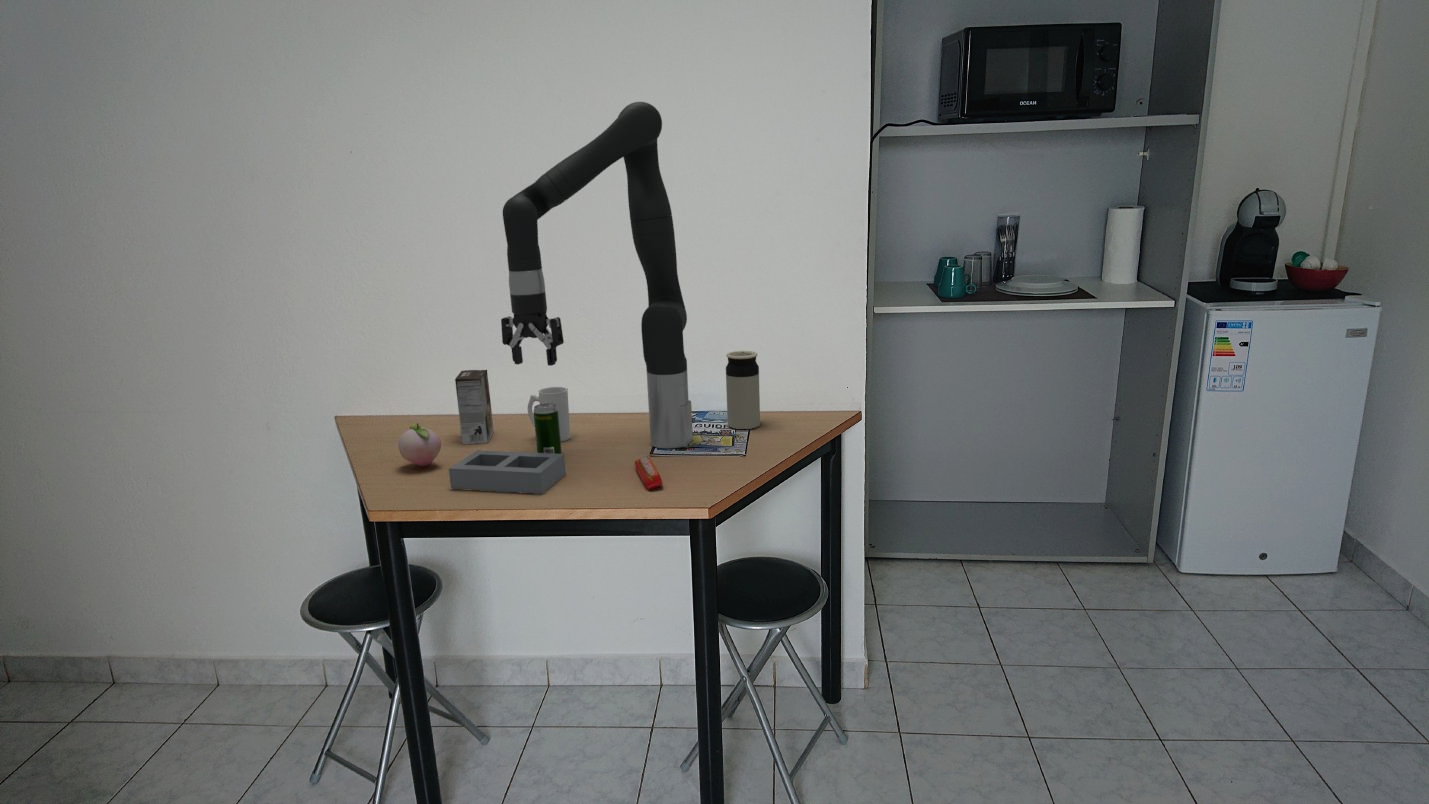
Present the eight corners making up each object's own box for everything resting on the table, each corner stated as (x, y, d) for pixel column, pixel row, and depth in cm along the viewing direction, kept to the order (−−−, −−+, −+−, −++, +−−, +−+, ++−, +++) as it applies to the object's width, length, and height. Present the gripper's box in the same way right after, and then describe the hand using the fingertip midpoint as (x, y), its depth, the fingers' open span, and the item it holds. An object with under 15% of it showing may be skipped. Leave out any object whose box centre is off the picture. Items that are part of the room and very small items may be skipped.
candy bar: (633, 468, 192) (632, 455, 191) (650, 466, 193) (649, 453, 192) (646, 493, 177) (645, 479, 176) (664, 491, 178) (663, 476, 177)
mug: (575, 434, 217) (571, 386, 214) (566, 443, 211) (562, 393, 208) (535, 434, 219) (531, 386, 216) (525, 442, 212) (520, 393, 209)
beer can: (564, 459, 199) (559, 407, 196) (539, 463, 197) (535, 410, 194) (559, 452, 204) (555, 401, 201) (535, 456, 202) (531, 404, 199)
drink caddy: (565, 474, 189) (564, 454, 188) (542, 494, 178) (540, 472, 177) (479, 470, 194) (477, 450, 193) (451, 489, 182) (448, 468, 181)
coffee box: (468, 433, 221) (461, 370, 217) (494, 432, 222) (488, 368, 218) (461, 444, 213) (453, 378, 208) (488, 443, 213) (481, 377, 209)
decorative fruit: (393, 468, 197) (387, 424, 195) (426, 458, 203) (421, 416, 200) (416, 476, 191) (410, 431, 189) (449, 466, 197) (444, 422, 194)
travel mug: (754, 431, 214) (752, 357, 210) (723, 429, 217) (720, 356, 213) (764, 422, 222) (762, 351, 217) (734, 420, 224) (731, 349, 220)
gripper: (565, 288, 194) (571, 361, 198) (510, 288, 199) (517, 359, 203) (546, 293, 187) (553, 369, 191) (489, 293, 193) (498, 366, 197)
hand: (535, 364), depth 197 cm, fingers open, 8 cm apart
